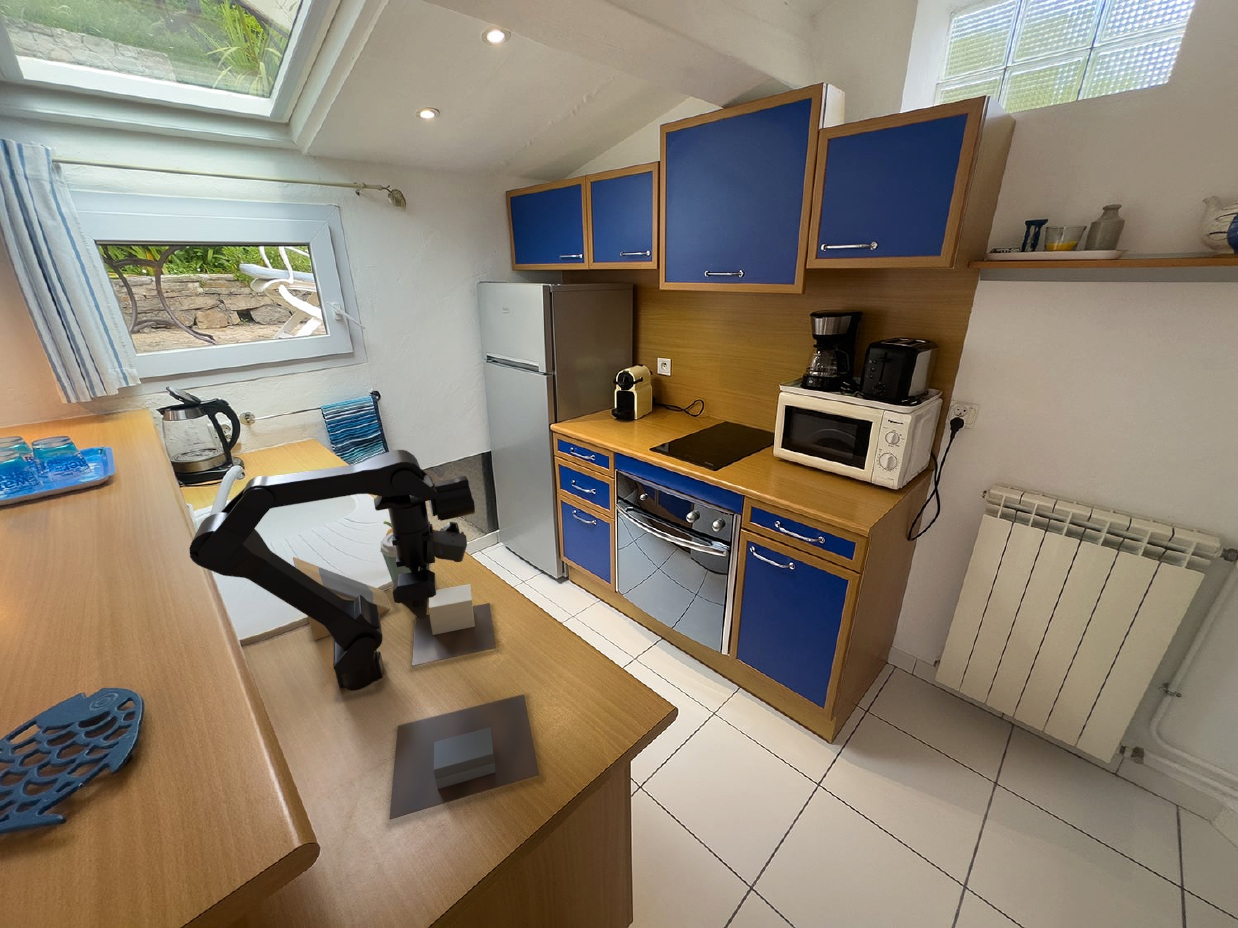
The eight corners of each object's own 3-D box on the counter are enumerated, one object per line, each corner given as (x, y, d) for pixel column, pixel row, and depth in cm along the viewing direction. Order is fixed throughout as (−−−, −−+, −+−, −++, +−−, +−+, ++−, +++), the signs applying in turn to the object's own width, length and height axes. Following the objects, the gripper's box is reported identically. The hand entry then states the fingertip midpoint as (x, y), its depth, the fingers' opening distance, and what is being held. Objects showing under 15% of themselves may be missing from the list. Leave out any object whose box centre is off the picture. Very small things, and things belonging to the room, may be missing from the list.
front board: (390, 824, 66) (389, 819, 65) (398, 729, 79) (397, 725, 78) (539, 779, 72) (539, 774, 71) (524, 698, 85) (524, 693, 84)
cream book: (430, 617, 95) (428, 607, 95) (430, 599, 100) (429, 590, 99) (473, 608, 98) (471, 599, 97) (471, 592, 103) (470, 583, 102)
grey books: (437, 789, 69) (433, 770, 67) (437, 760, 73) (433, 741, 71) (495, 772, 71) (493, 753, 70) (492, 745, 75) (490, 726, 74)
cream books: (432, 635, 97) (429, 617, 95) (433, 617, 102) (430, 599, 100) (474, 626, 99) (472, 609, 98) (473, 609, 104) (471, 592, 103)
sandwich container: (397, 611, 105) (385, 551, 99) (314, 641, 96) (296, 577, 91) (387, 591, 111) (375, 533, 105) (309, 617, 103) (292, 556, 97)
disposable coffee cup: (383, 589, 112) (372, 532, 106) (431, 572, 118) (423, 517, 112) (397, 614, 104) (385, 554, 98) (447, 595, 110) (439, 537, 104)
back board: (412, 670, 90) (411, 665, 90) (415, 620, 102) (415, 616, 102) (496, 651, 95) (495, 647, 94) (489, 606, 107) (489, 602, 106)
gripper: (463, 546, 76) (473, 626, 82) (459, 495, 92) (468, 565, 98) (384, 558, 73) (401, 641, 79) (395, 503, 89) (408, 575, 95)
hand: (423, 601), depth 88 cm, fingers open, 9 cm apart
